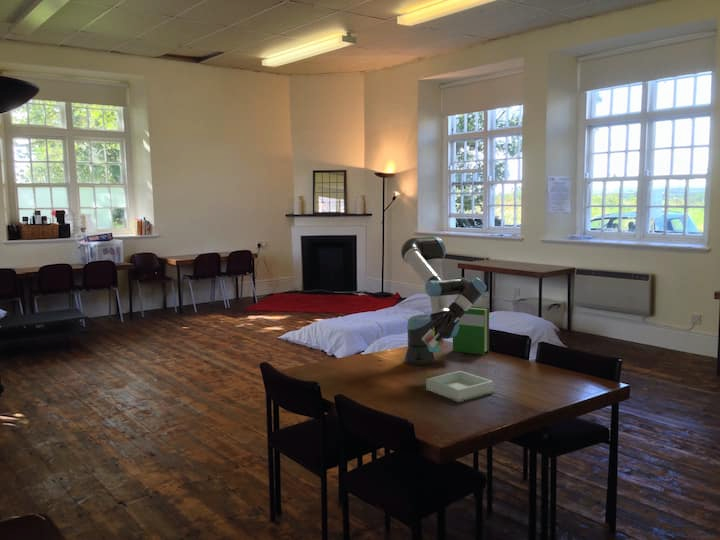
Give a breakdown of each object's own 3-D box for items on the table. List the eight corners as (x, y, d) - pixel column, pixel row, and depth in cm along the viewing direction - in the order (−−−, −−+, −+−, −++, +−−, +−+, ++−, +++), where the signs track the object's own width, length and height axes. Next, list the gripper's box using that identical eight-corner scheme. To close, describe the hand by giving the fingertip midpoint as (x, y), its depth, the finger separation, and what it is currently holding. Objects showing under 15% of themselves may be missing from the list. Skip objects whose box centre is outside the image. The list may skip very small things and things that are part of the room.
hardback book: (488, 351, 327) (489, 307, 324) (484, 354, 320) (484, 309, 318) (458, 347, 336) (458, 305, 333) (452, 350, 330) (452, 307, 327)
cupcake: (443, 353, 274) (442, 327, 273) (424, 353, 276) (423, 327, 274) (443, 348, 283) (443, 323, 281) (425, 348, 284) (424, 323, 283)
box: (426, 390, 264) (426, 378, 263) (460, 381, 275) (460, 370, 274) (458, 402, 247) (458, 390, 247) (493, 392, 259) (493, 381, 258)
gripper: (475, 316, 271) (441, 354, 269) (455, 308, 291) (424, 343, 289) (464, 305, 269) (430, 343, 267) (445, 297, 289) (413, 333, 287)
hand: (427, 343), depth 278 cm, fingers closed on cupcake, 9 cm apart
